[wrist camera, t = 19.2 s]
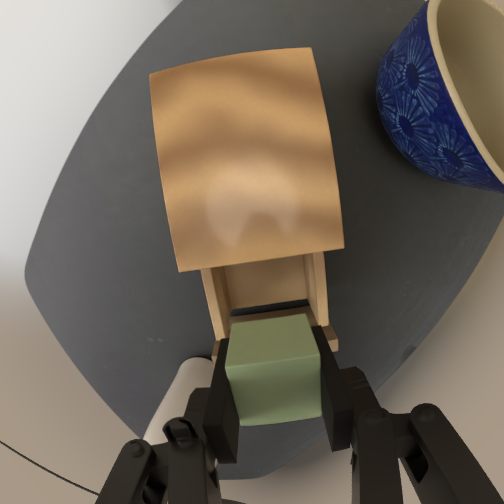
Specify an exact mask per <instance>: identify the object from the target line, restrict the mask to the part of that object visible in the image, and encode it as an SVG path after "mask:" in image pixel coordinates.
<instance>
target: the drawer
mask: <svg viewBox="0 0 504 504" xmlns="http://www.w3.org/2000/svg"><path fill="white" fill-rule="evenodd" d="M201 274H202V279H203V284H204V288H205V293H206V297H207V302H208V306H209V311H210V315H211V319H212V324H213V328H214V332H215V336H216V341H215V345H214V348H213V352H212V356H211V357H212V361H213V364H214V367H215V363H216V358H217V354H218V349H219V345H220V340H221V339H222V338H230V333H231V327H232V324H233V323H240V322H248V321H256V320H263V319H271V318H278V317H285V316H291V315H298V314H304V313H305V314H306V315H307V318H308V321H309V324H310V327H312V326H318V325H321V327H322V329H323V331H324V334H325V336H326V338H327V341H328V343H329V346H330V348H331V350H332V352H334V351H338V338H337V336H336V334H335V332H334V330H333V328H332V326H331V324H330V322H329V320H328V302H327V287H326V274H325V262H324V251H323V252H316V253H309V254H303V255H296V256H289V257H282V258H276V259H269V260H262V261H255V262H248V263H241V264H234V265H227V266H220V267H213V268H206V269H201ZM306 298H307V299H308V302H309V304H310V306H305V307H299V308H292V309H286V310H279V311H272V312H265V313H257V314H250V315H242V316H234V317H230V316H231V311H232V309H236V308H244V307H252V306H259V305H266V304H274V303H280V302H287V301H294V300H300V299H306Z"/></svg>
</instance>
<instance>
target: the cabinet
mask: <svg viewBox="0 0 504 504" xmlns="http://www.w3.org/2000/svg"><path fill="white" fill-rule="evenodd" d="M149 80H150V92H151V103H152V113H153V122H154V131H155V139H156V146H157V154H158V161H159V168H160V174H161V181H162V187H163V193H164V199H165V205H166V210H167V216H168V221H169V226H170V232H171V237H172V242H173V246H174V251H175V256H176V261H177V265H178V270H179V272H184V271H192V270H199V269H206V268H213V267H220V266H227V265H234V264H241V263H248V262H255V261H262V260H269V259H276V258H282V257H289V256H296V255H303V254H309V253H316V252H323V251H329V250H336V249H342V248H344V235H343V224H342V214H341V205H340V197H339V189H338V181H337V174H336V167H335V160H334V154H333V147H332V141H331V136H330V130H329V125H328V119H327V114H326V109H325V104H324V99H323V95H322V90H321V86H320V81H319V77H318V73H317V69H316V64H315V60H314V57H313V53H312V49H311V48H288V49H275V50H265V51H256V52H248V53H241V54H234V55H228V56H222V57H217V58H211V59H207V60H202V61H197V62H193V63H188V64H184V65H180V66H176V67H173V68H169V69H165V70H162V71H158V72H155V73H152V74H149Z"/></svg>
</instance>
